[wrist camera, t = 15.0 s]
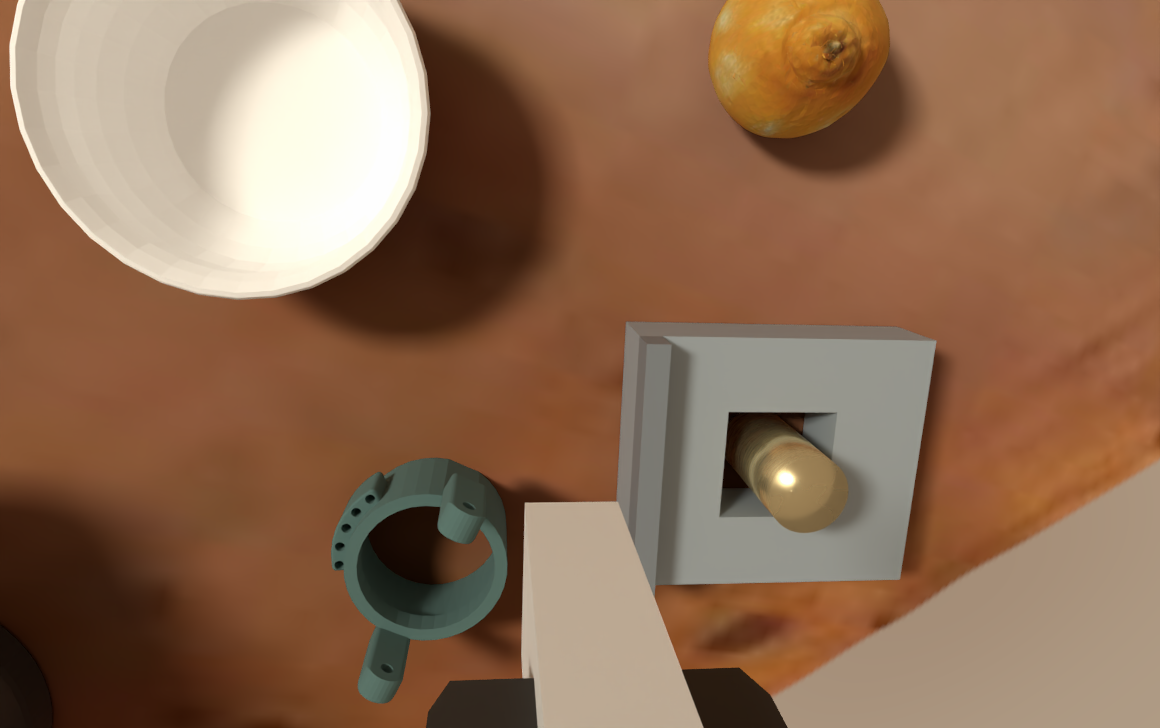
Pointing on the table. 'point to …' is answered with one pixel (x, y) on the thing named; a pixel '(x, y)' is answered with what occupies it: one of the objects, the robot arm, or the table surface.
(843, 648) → the table surface
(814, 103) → the fruit
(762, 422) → the brass cylinder
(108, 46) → the bowl
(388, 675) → the bracket
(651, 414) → the jig
